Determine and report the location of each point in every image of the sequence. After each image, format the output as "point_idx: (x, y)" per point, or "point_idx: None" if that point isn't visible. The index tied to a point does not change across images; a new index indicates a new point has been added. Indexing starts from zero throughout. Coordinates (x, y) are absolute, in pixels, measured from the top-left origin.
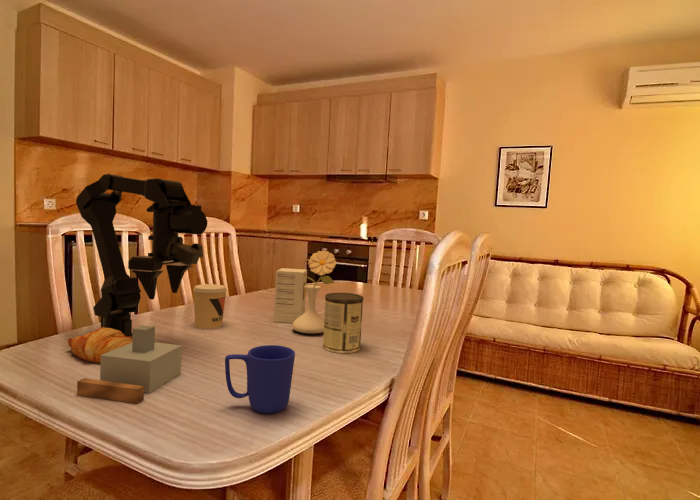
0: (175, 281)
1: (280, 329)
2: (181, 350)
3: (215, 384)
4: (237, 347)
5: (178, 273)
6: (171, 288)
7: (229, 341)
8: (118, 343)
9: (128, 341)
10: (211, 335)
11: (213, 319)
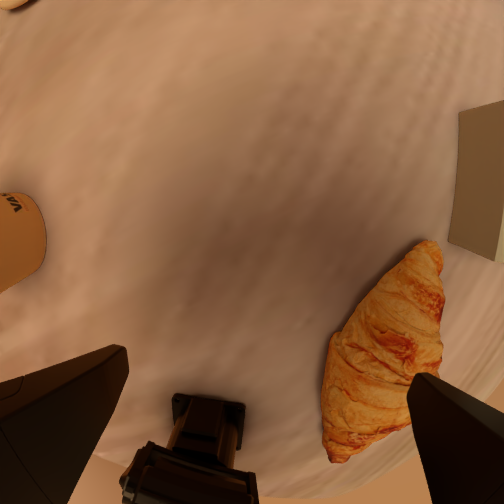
0: (75, 414)
1: (21, 32)
2: (497, 102)
3: (474, 31)
4: (199, 29)
5: (13, 448)
6: (118, 399)
7: (139, 79)
8: (433, 336)
9: (419, 322)
10: (91, 170)
11: (16, 207)
